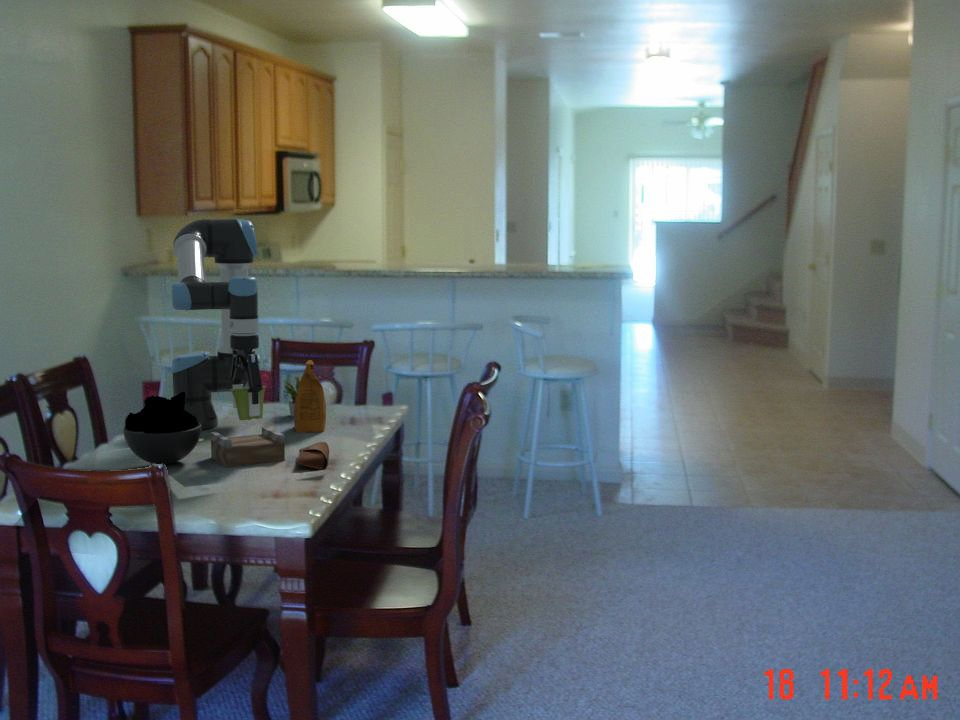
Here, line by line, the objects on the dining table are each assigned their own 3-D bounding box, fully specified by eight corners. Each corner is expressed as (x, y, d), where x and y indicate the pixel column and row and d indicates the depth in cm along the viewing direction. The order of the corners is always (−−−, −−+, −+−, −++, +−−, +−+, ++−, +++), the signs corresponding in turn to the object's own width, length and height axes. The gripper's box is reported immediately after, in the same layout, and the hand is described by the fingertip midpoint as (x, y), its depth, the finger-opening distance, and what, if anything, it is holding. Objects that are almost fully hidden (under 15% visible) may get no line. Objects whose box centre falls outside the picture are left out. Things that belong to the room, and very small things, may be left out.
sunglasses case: (297, 448, 280) (313, 431, 280) (316, 465, 282) (332, 447, 282) (294, 463, 263) (312, 443, 263) (315, 480, 264) (332, 461, 264)
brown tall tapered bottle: (327, 427, 323) (325, 358, 320) (326, 434, 310) (325, 363, 308) (295, 428, 321) (293, 359, 319) (293, 435, 309) (291, 364, 307)
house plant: (325, 416, 343) (324, 368, 341) (325, 423, 329) (324, 373, 327) (282, 417, 341) (281, 369, 339) (280, 424, 327) (279, 374, 325)
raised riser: (211, 457, 279) (210, 432, 278) (267, 451, 287) (266, 426, 286) (226, 467, 267) (226, 441, 266) (284, 460, 275) (284, 435, 274)
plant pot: (260, 419, 268) (257, 386, 268) (227, 421, 270) (224, 389, 270) (274, 417, 277) (271, 385, 277) (242, 419, 279) (239, 388, 279)
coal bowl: (130, 475, 258) (127, 402, 256) (119, 459, 276) (116, 391, 274) (210, 467, 267) (207, 396, 265) (194, 452, 285) (192, 386, 283)
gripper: (216, 330, 282) (219, 405, 285) (245, 339, 261) (247, 420, 264) (243, 328, 285) (245, 403, 288) (273, 338, 264) (275, 418, 267)
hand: (246, 411), depth 276 cm, fingers open, 13 cm apart
